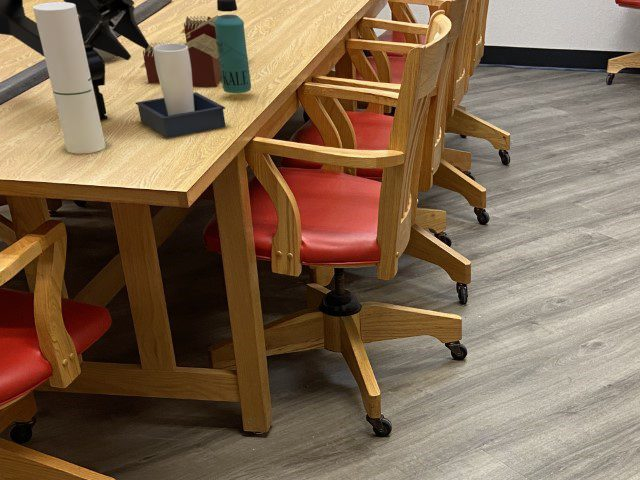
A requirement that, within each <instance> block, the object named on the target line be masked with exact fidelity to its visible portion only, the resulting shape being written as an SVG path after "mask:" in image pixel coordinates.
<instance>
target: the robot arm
mask: <svg viewBox="0 0 640 480" xmlns="http://www.w3.org/2000/svg"><path fill="white" fill-rule="evenodd" d="M63 2H67V3H73V4H75V5H76V10H77V14H78V15H79V16H80V18H79V24H80V28H81V33H82V38H83V42H84V47H85V52H86V57H87V61H88V66H89V71H90V75H91V80H92V85H93V90H94V94H95V99H96V104H97V108H98V113H99V118H100V121H105V120H108V119H109V117H108V115H106V114H107V108H106V104H105V99H104V94H103V93H102V92H100V86H102V87H103V86H106V62H104V60H103V58H102V57H101V56H100V54H99V53H98V52H97V51H96V50H94V49H93V48H97V49H99V50H102V51H105V52H108V53H110V54H113V55H115V56H116V57H118V58H120V59H123V60H126V61H129V60H130V59H131V58H132V55H131V54H130V53H129V51H128V50H127V48H125V46H124V45H123V44H122V43H121V42H120V40H119V39H118V37H117V36H116V35H115V36H116V37H117V38H116V37H115V36H114V35H113V34H112V33H111V31H110V27H111V28H113V29H112V31H113V32H114V33H117V34H118V35H120V36H122V37H124V38H125V39H127V40H128V41H131V42H132V43H134V44H135V45H137V46H139V47H140V48H143V49H144V50H145V49H147V48H148V46H149V45H150V44H149V42H148V40H147V39H146V37H145V36H144V34H143V32H142V30H141V28H140V27H139V25H138V24H137V21H136V19H135V13H134V12H135V9H136V8H135V6H134V5H135V1H134V0H63ZM109 26H110V27H109ZM0 35H4V36H12V37H13V38H15V39H16V40H18V41H19V42H21V43H23V44H24V45H25V46H28V48H31V49H32V50H33V51H35V52H36V53H38V54H39V55H41V56H43V57H44V58H45V56H44V52H43V48H42V44H41V39H40V35H39V31H38V27H37V23H36V21H34V20H33V19H31V18H30V17H28V16H27V15H26V13H25V8H24V0H0ZM87 38H88V39H89V40H88V39H87ZM117 39H118V40H119V41H118V40H117ZM87 40H88V41H87Z"/></svg>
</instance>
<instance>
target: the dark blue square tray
mask: <svg viewBox="0 0 640 480" xmlns="http://www.w3.org/2000/svg"><path fill="white" fill-rule="evenodd" d="M193 96H194V109H195V111H193V112H187V113H181V114H176V115H170V116H168V113H167V109H166V105H165V101H164V97H160V98H153V99H148V100H147V99H146V100H142V101H136V102H135V105H136V106H137V107H138V113H139V119H140V123H141V124H143V125H145V126H146V127H147V128H149V129H151V130H152V131H154V132H155V133H157V134H159V135H161V136H163V137H164V138H166V139H170V138H175V137H176V138H177V137H180V136H185V135H192V134H196V133H201V132H207V131H212V130H218V129H223V128H226V120H225V112H224V110H226V107H225V106H224V105H222V104H220V103H218V102H216V101H214V100H212V99H210V98H208V97H207V96H204V95H202V94H201V93H199V92H197V91H195V92H193Z"/></svg>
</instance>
